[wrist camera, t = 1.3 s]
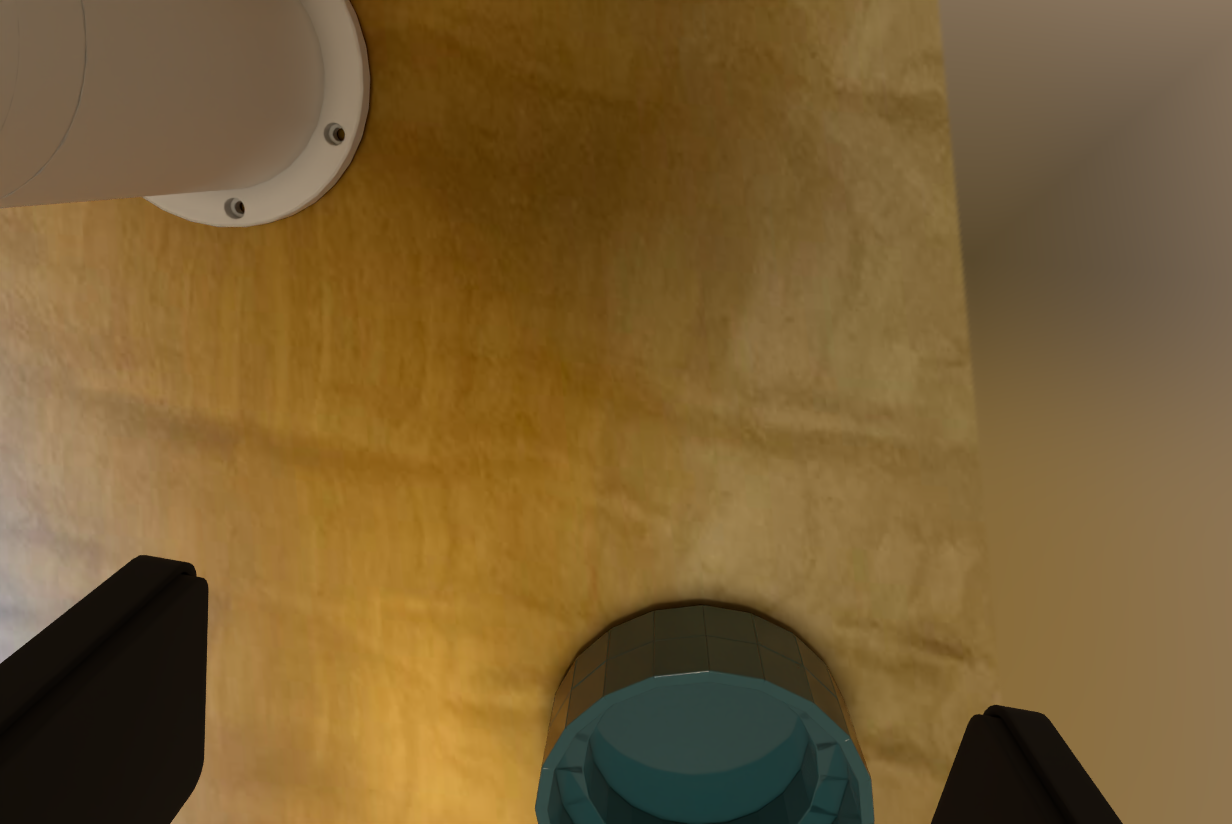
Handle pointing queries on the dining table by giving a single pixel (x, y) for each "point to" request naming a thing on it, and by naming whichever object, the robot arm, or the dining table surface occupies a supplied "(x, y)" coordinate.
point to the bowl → (701, 729)
